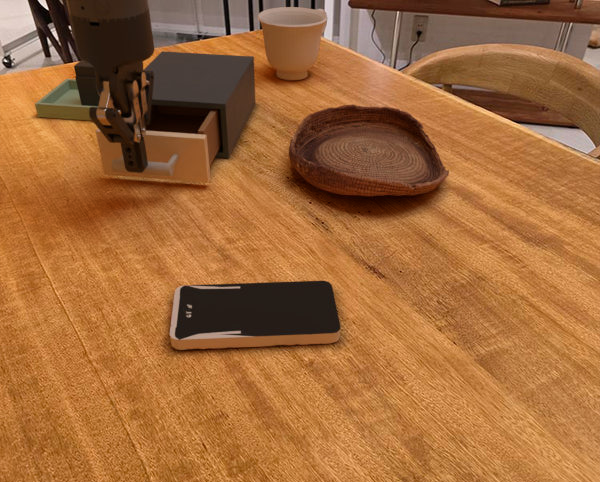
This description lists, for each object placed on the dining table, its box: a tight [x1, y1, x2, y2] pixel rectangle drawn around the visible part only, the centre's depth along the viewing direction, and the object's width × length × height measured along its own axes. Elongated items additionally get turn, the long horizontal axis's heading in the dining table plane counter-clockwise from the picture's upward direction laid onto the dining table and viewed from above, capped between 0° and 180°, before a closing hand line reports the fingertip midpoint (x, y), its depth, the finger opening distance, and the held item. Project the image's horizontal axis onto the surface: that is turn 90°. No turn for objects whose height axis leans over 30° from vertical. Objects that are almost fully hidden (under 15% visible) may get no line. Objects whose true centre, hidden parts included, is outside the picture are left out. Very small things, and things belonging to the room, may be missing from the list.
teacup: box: [256, 6, 328, 81], centre depth 104 cm, size 12×15×10 cm
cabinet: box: [143, 50, 256, 159], centre depth 86 cm, size 20×15×8 cm
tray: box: [34, 78, 98, 122], centre depth 93 cm, size 15×11×2 cm
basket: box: [288, 104, 450, 197], centre depth 76 cm, size 22×20×5 cm
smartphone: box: [169, 280, 341, 351], centre depth 55 cm, size 8×1×15 cm
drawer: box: [95, 105, 222, 183], centre depth 77 cm, size 23×13×6 cm, turn 173°
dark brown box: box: [73, 60, 100, 106], centre depth 92 cm, size 5×3×6 cm, turn 83°
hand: (137, 169), depth 68 cm, fingers closed
